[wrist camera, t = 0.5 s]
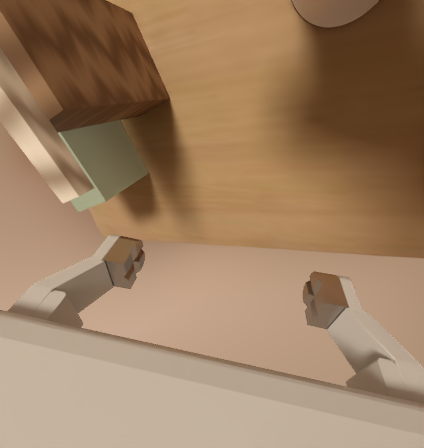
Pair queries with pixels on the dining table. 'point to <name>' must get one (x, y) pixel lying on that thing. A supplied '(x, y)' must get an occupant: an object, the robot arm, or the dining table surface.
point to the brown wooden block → (80, 60)
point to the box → (104, 161)
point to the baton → (38, 136)
